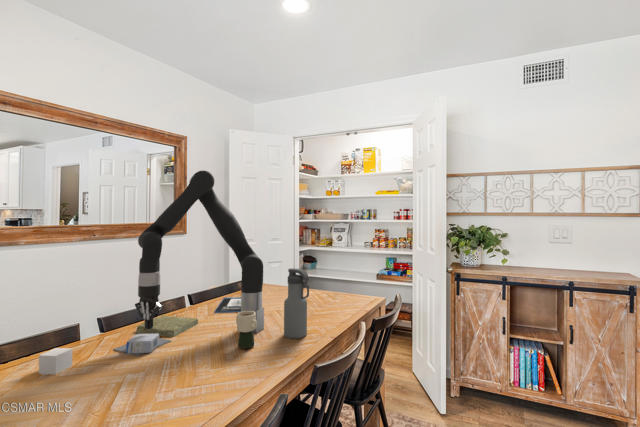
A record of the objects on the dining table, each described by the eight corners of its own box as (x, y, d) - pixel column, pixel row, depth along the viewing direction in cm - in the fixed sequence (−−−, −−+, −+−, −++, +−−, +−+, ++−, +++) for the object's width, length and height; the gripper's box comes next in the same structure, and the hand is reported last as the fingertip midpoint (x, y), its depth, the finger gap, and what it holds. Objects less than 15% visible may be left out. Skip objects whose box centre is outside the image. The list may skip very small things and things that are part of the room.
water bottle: (311, 333, 142) (312, 268, 142) (300, 340, 133) (301, 271, 133) (291, 329, 146) (291, 267, 146) (279, 336, 137) (280, 270, 137)
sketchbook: (213, 314, 170) (213, 310, 170) (224, 300, 200) (224, 296, 200) (255, 313, 173) (255, 309, 173) (259, 299, 203) (259, 295, 203)
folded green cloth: (161, 321, 158) (161, 314, 158) (199, 324, 154) (199, 316, 154) (131, 334, 140) (132, 326, 140) (173, 338, 136) (173, 330, 136)
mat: (171, 341, 131) (171, 340, 131) (137, 355, 118) (137, 354, 118) (147, 336, 136) (147, 335, 136) (113, 350, 122) (113, 349, 122)
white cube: (55, 365, 110) (56, 347, 110) (72, 366, 109) (72, 348, 109) (38, 374, 104) (39, 355, 104) (55, 375, 103) (56, 356, 103)
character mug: (262, 347, 126) (263, 313, 126) (249, 353, 120) (249, 318, 120) (243, 341, 132) (243, 308, 132) (229, 346, 126) (229, 313, 127)
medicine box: (159, 344, 127) (136, 345, 126) (159, 333, 127) (136, 333, 126) (150, 352, 119) (125, 353, 118) (150, 340, 119) (126, 341, 119)
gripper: (170, 283, 127) (169, 327, 127) (145, 280, 132) (144, 323, 132) (153, 286, 120) (153, 334, 120) (128, 283, 125) (127, 329, 125)
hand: (148, 328), depth 126 cm, fingers closed
